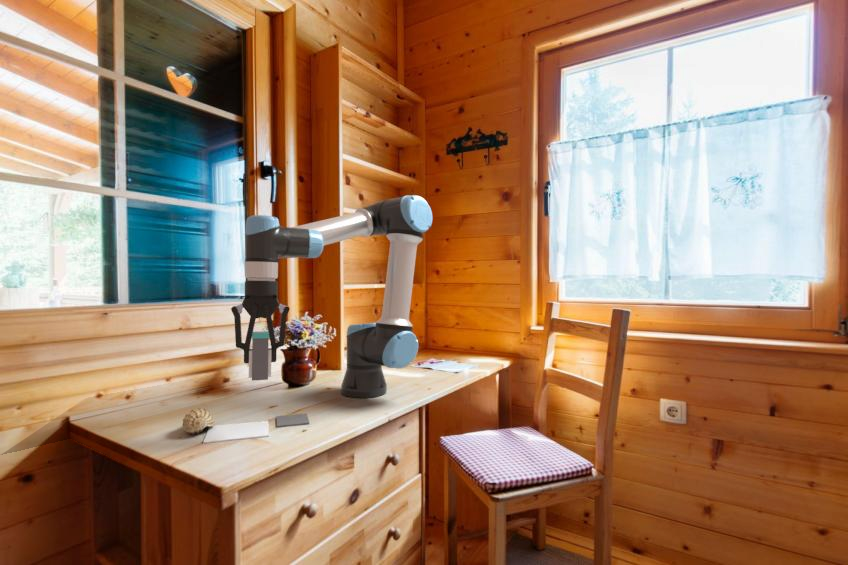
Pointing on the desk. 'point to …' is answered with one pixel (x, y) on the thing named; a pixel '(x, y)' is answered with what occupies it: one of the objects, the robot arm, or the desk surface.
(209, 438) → the paper
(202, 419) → the seashell
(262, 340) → the marker
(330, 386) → the desk surface
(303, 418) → the coaster
